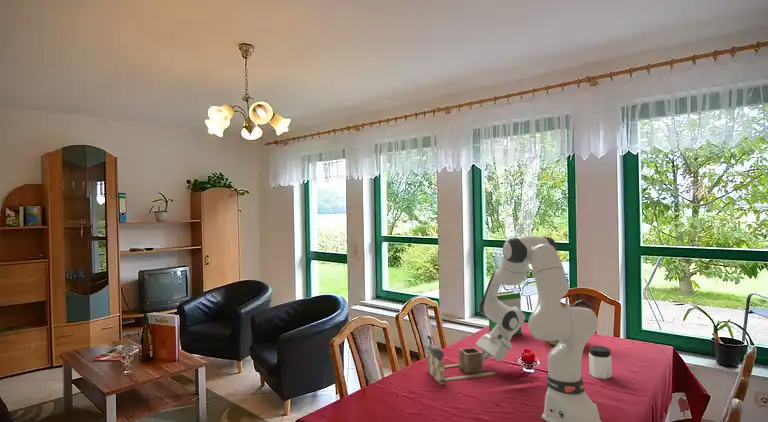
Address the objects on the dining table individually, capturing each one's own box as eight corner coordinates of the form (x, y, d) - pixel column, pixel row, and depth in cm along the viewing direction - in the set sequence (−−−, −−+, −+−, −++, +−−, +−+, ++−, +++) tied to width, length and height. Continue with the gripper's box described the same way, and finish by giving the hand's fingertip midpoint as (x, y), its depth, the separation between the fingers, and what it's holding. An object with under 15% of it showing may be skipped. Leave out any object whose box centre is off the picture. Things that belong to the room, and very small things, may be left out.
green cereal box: (513, 330, 273) (512, 291, 273) (521, 333, 266) (520, 293, 266) (489, 333, 266) (488, 293, 266) (496, 337, 260) (495, 296, 259)
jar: (603, 380, 192) (603, 353, 192) (586, 375, 199) (585, 348, 199) (615, 375, 197) (614, 348, 197) (597, 370, 204) (597, 344, 204)
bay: (495, 377, 199) (494, 340, 199) (438, 384, 193) (437, 346, 193) (478, 364, 216) (477, 330, 216) (425, 370, 209) (424, 335, 209)
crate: (483, 372, 202) (482, 352, 202) (466, 374, 200) (466, 354, 200) (475, 366, 210) (474, 347, 210) (459, 368, 208) (459, 349, 208)
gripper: (484, 327, 218) (466, 349, 216) (505, 339, 198) (485, 363, 196) (492, 335, 219) (475, 357, 217) (514, 348, 199) (495, 372, 197)
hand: (480, 360), depth 206 cm, fingers closed, pressing on crate
